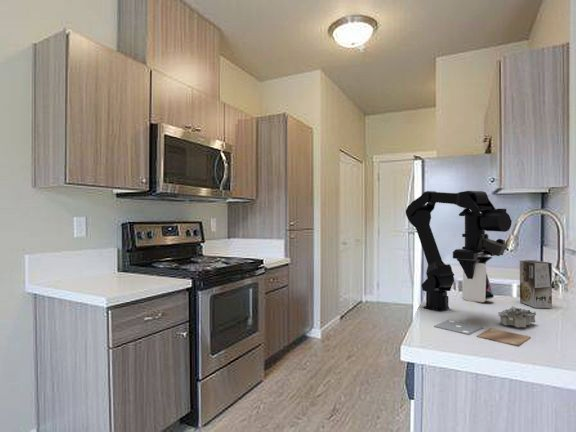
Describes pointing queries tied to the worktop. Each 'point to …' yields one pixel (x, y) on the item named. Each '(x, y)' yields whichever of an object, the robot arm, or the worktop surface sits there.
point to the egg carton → (517, 317)
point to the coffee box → (536, 283)
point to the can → (475, 285)
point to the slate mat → (458, 327)
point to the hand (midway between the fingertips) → (474, 279)
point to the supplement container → (488, 289)
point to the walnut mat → (504, 337)
